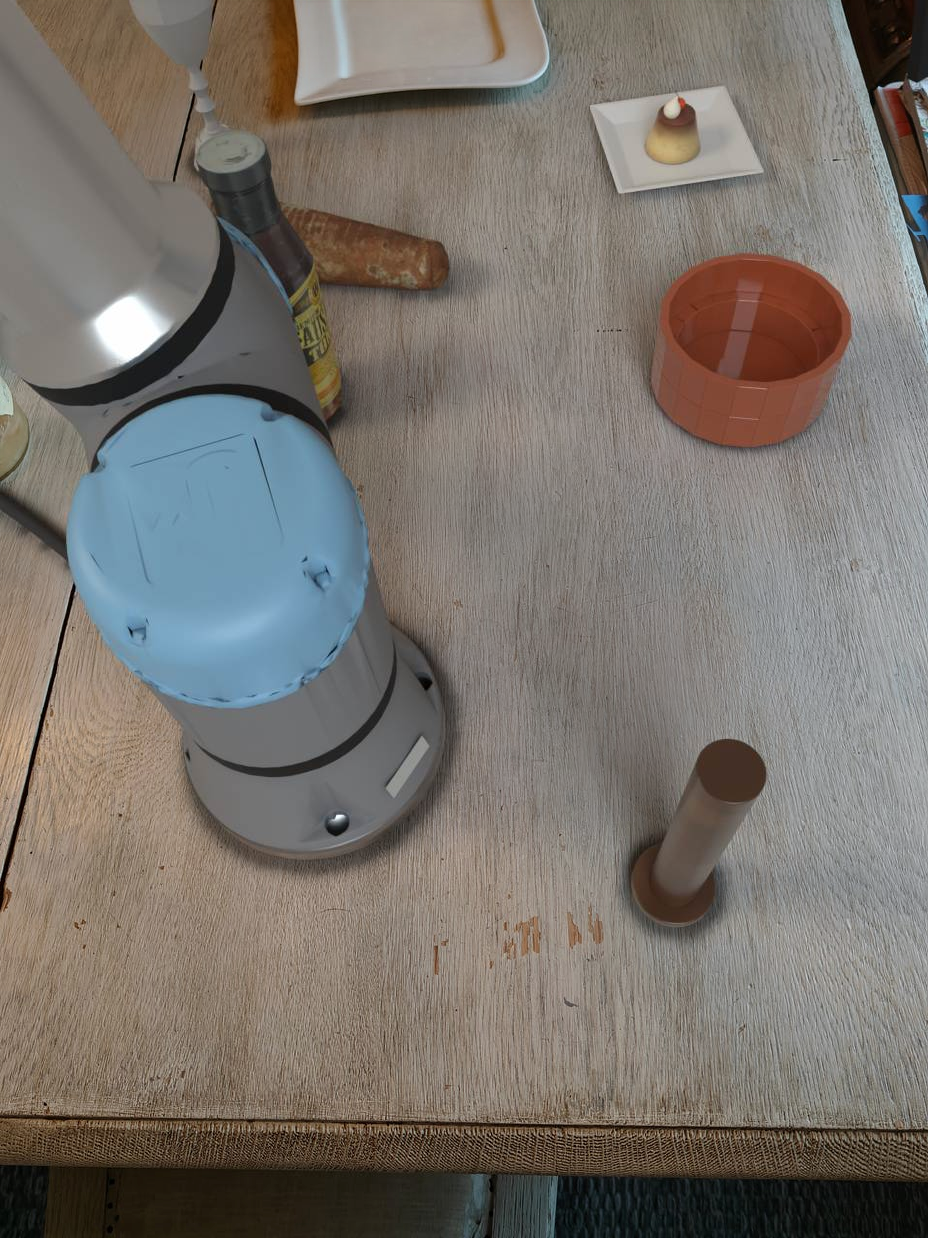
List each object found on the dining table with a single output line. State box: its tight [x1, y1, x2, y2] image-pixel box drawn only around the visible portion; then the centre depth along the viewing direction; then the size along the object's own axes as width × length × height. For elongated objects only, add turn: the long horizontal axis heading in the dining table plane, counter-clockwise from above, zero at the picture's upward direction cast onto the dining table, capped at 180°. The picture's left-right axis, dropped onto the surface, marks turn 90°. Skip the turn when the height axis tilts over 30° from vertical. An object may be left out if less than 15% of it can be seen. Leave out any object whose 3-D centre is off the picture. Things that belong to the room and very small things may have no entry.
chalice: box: [128, 0, 235, 172], centre depth 77 cm, size 7×7×18 cm
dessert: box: [589, 85, 765, 195], centre depth 79 cm, size 12×12×5 cm
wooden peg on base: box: [630, 738, 767, 928], centre depth 44 cm, size 4×4×18 cm
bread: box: [210, 200, 450, 291], centre depth 74 cm, size 6×19×6 cm, turn 74°
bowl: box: [650, 252, 852, 448], centre depth 65 cm, size 12×12×6 cm
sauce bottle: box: [196, 129, 343, 422], centre depth 62 cm, size 7×6×20 cm
